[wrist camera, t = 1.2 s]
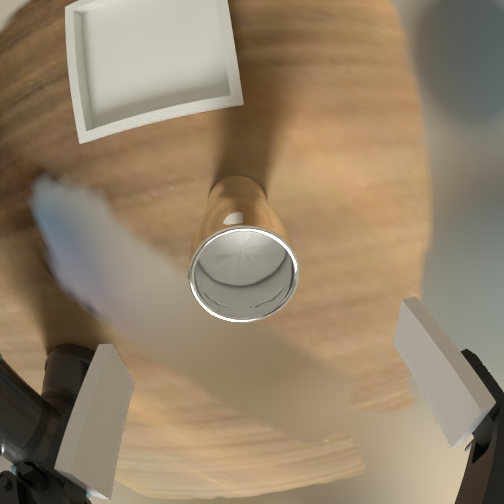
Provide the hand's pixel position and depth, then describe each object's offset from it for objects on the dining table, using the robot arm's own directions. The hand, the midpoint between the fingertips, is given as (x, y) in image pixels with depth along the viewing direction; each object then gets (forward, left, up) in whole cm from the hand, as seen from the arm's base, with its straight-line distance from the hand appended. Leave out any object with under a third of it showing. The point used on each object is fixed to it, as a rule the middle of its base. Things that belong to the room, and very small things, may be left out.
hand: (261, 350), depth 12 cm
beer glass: (0, 0, -21) cm, 21 cm away
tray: (-6, +18, -21) cm, 28 cm away
